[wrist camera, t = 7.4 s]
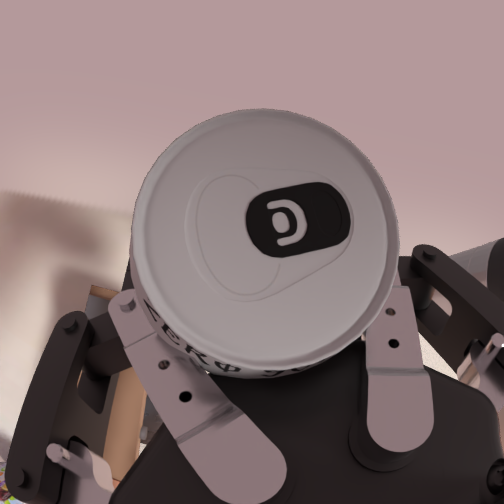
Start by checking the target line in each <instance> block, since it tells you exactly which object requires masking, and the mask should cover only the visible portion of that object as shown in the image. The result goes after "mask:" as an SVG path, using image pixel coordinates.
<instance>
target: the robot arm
mask: <svg viewBox="0 0 504 504" xmlns="http://www.w3.org/2000/svg"><path fill="white" fill-rule="evenodd" d="M418 332H419V333H420V334H421V335H422V336H423V337H424V338H425V339H426V340H427V342H428V343H429V344H430V345H431V346H432V347H433V348H434V349H435V350H436V351H437V353H438V354H439V355H440V356H441V357H442V358H443V359H444V360H445V361H446V363H447V364H448V365H449V366H450V367H451V368H452V369H453V371H454V372H455V373H456V374H457V377H458V380H459V381H458V380H456V379H454V378H451V377H449V376H447V375H445V374H442V373H440V372H438V371H436V370H434V369H432V368H429V367H427V366H425V365H423V360H422V353H421V347H420V340H419V334H418ZM130 367H133V368H134V370H135V372H136V374H137V376H138V378H139V380H140V382H141V384H142V386H143V387H144V389H145V391H146V393H147V395H148V396H149V398H150V400H151V402H152V403H153V405H154V407H155V408H156V410H157V412H158V413H159V415H160V417H161V418H162V420H163V423H162V424H161V426H160V427H159V429H158V430H157V431H156V433H155V434H154V436H153V437H152V438H151V440H150V441H149V443H148V444H147V445H146V447H145V448H144V450H143V451H142V452H141V454H140V455H139V457H138V458H137V459H136V461H135V462H134V464H133V465H132V466H131V468H130V469H129V471H128V472H127V473H126V475H125V476H124V477H123V479H122V480H121V482H120V483H119V484H118V486H117V487H116V488H114V486H113V484H112V483H113V480H112V473H111V469H110V466H109V464H108V463H107V462H106V460H105V459H103V453H104V447H105V441H106V435H107V430H108V424H109V419H110V414H111V409H112V405H113V400H114V395H115V391H116V387H117V382H118V378H119V374H120V372H121V371H123V370H126V369H128V368H130ZM81 370H82V374H81V377H80V380H79V383H78V379H79V376H80V373H81ZM77 383H78V386H77ZM503 407H504V238H501V239H499V240H496V241H493V242H490V243H487V244H484V245H482V246H479V247H476V248H473V249H470V250H467V251H463V252H460V253H457V254H454V255H451V256H447V255H446V254H444V253H443V252H442V251H440V250H439V249H437V248H436V247H433V246H430V245H423V244H422V245H417V246H415V247H414V249H413V252H412V256H399V259H398V267H397V272H396V276H395V279H394V282H393V285H392V288H391V291H390V294H389V296H388V298H387V300H386V302H385V303H384V305H383V307H382V309H381V311H380V312H379V314H378V316H377V317H376V318H375V320H374V321H373V322H372V323H371V324H370V325H369V327H368V328H367V329H366V330H365V331H364V332H363V333H362V334H361V336H360V337H358V338H357V339H356V340H354V341H353V342H352V343H350V344H349V345H348V346H346V347H345V348H344V349H343V350H342V351H340V352H339V353H337V354H336V355H334V356H332V357H331V358H329V359H328V360H326V361H325V362H323V363H321V364H318V365H316V366H314V367H311V368H309V369H306V370H304V371H301V372H298V373H294V374H289V375H284V376H279V377H274V378H251V379H244V378H236V377H229V376H221V375H214V374H212V373H208V374H207V373H206V371H205V370H204V369H203V368H202V366H201V365H200V364H199V363H198V361H197V360H196V359H195V358H194V357H192V356H190V355H188V354H186V353H184V352H182V351H180V350H178V349H176V348H174V347H173V346H171V345H169V344H168V343H167V342H166V341H164V340H163V339H162V338H161V337H160V336H159V334H158V333H157V332H156V331H155V330H154V329H153V327H152V326H151V324H150V323H149V321H148V319H147V317H146V315H145V313H144V312H143V310H142V308H141V306H140V304H139V302H138V299H137V295H136V292H135V289H134V285H133V282H132V278H131V269H130V257H129V261H128V266H127V269H126V274H125V278H124V282H123V287H122V291H121V292H120V293H118V294H117V295H116V296H114V297H113V298H112V300H111V301H110V303H109V305H108V311H107V312H106V313H104V314H101V315H99V316H97V317H94V318H92V319H90V320H89V319H88V317H87V316H86V314H85V313H83V312H81V311H74V312H70V313H68V314H66V315H65V316H63V317H62V318H61V319H60V320H59V321H58V322H57V324H56V326H55V328H54V330H53V332H52V334H51V336H50V338H49V341H48V343H47V345H46V347H45V350H44V352H43V354H42V356H41V359H40V361H39V364H38V366H37V368H36V371H35V373H34V376H33V379H32V381H31V384H30V386H29V389H28V392H27V395H26V397H25V400H24V403H23V406H22V409H21V412H20V415H19V418H18V422H17V425H16V428H15V432H14V435H13V439H12V443H11V446H10V450H9V454H8V459H7V463H6V468H5V473H4V478H5V484H6V487H7V489H8V491H9V492H10V494H11V495H12V496H13V497H14V498H15V499H17V500H19V501H21V502H23V503H26V504H504V453H503V449H502V444H501V437H500V426H499V418H498V412H499V411H500V410H501V409H502V408H503Z"/></svg>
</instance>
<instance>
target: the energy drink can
mask: <svg viewBox="0 0 504 504" xmlns="http://www.w3.org/2000/svg"><path fill="white" fill-rule="evenodd" d="M131 233H132V234H131V241H130V249H129V255H130V269H131V278H132V282H133V285H134V289H135V292H136V295H137V299H138V302H139V304H140V306H141V308H142V310H143V312H144V313H145V315H146V317H147V319H148V321H149V323H150V324H151V326H152V327H153V329H154V330H155V331H156V332H157V333H158V334H159V336H160V337H161V338H162V339H163V340H164V341H166V342H167V343H168V344H169V345H171V346H173V347H174V348H176V349H178V350H180V351H182V352H184V353H186V354H188V355H190V356H192V357H194V358H195V359H196V360H197V361H198V363H199V364H200V365H201V366H202V368H203V369H204V370H205V371H208V372H210V373H212V374H214V375H221V376H229V377H236V378H244V379H251V378H274V377H279V376H284V375H289V374H294V373H298V372H301V371H304V370H306V369H309V368H311V367H314V366H316V365H318V364H321V363H323V362H325V361H326V360H328V359H329V358H331V357H332V356H334V355H336V354H337V353H339V352H340V351H342V350H343V349H344V348H345V347H346V346H348V345H349V344H350V343H352V342H353V341H354V340H356V339H357V338H358V337H360V336H361V334H362V333H363V332H364V331H365V330H366V329H367V328H368V327H369V325H370V324H371V323H372V322H373V321H374V320H375V318H376V317H377V316H378V314H379V312H380V311H381V309H382V307H383V305H384V303H385V302H386V300H387V298H388V296H389V294H390V291H391V288H392V285H393V282H394V279H395V276H396V272H397V267H398V259H399V249H400V241H399V230H398V220H397V216H396V213H395V209H394V205H393V202H392V198H391V196H390V194H389V192H388V190H387V188H386V186H385V184H384V182H383V179H382V177H381V176H380V174H379V173H378V172H377V170H376V169H375V167H374V166H373V165H372V163H371V162H370V160H369V159H368V158H367V157H366V156H365V155H364V154H363V153H362V152H361V151H360V150H359V149H358V148H357V147H356V146H355V145H354V144H353V143H352V142H351V141H350V140H348V139H347V138H345V137H344V136H343V135H341V134H340V133H338V132H337V131H336V130H334V129H333V128H331V127H329V126H327V125H325V124H323V123H321V122H319V121H317V120H315V119H312V118H310V117H306V116H303V115H300V114H297V113H293V112H289V111H283V110H274V109H247V110H238V111H234V112H230V113H226V114H222V115H218V116H216V117H213V118H211V119H209V120H206V121H204V122H202V123H200V124H198V125H195V126H194V127H193V128H191V129H190V130H188V131H187V132H185V133H184V134H182V135H181V136H180V137H178V138H177V139H176V140H174V141H173V143H171V145H170V146H169V147H168V148H167V149H166V150H165V151H164V152H163V153H162V154H161V155H160V156H159V157H158V159H157V160H156V162H155V163H154V165H153V166H152V168H151V169H150V171H149V172H148V174H147V176H146V177H145V179H144V182H143V184H142V187H141V189H140V192H139V195H138V197H137V200H136V202H135V208H134V214H133V221H132V227H131Z"/></svg>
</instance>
